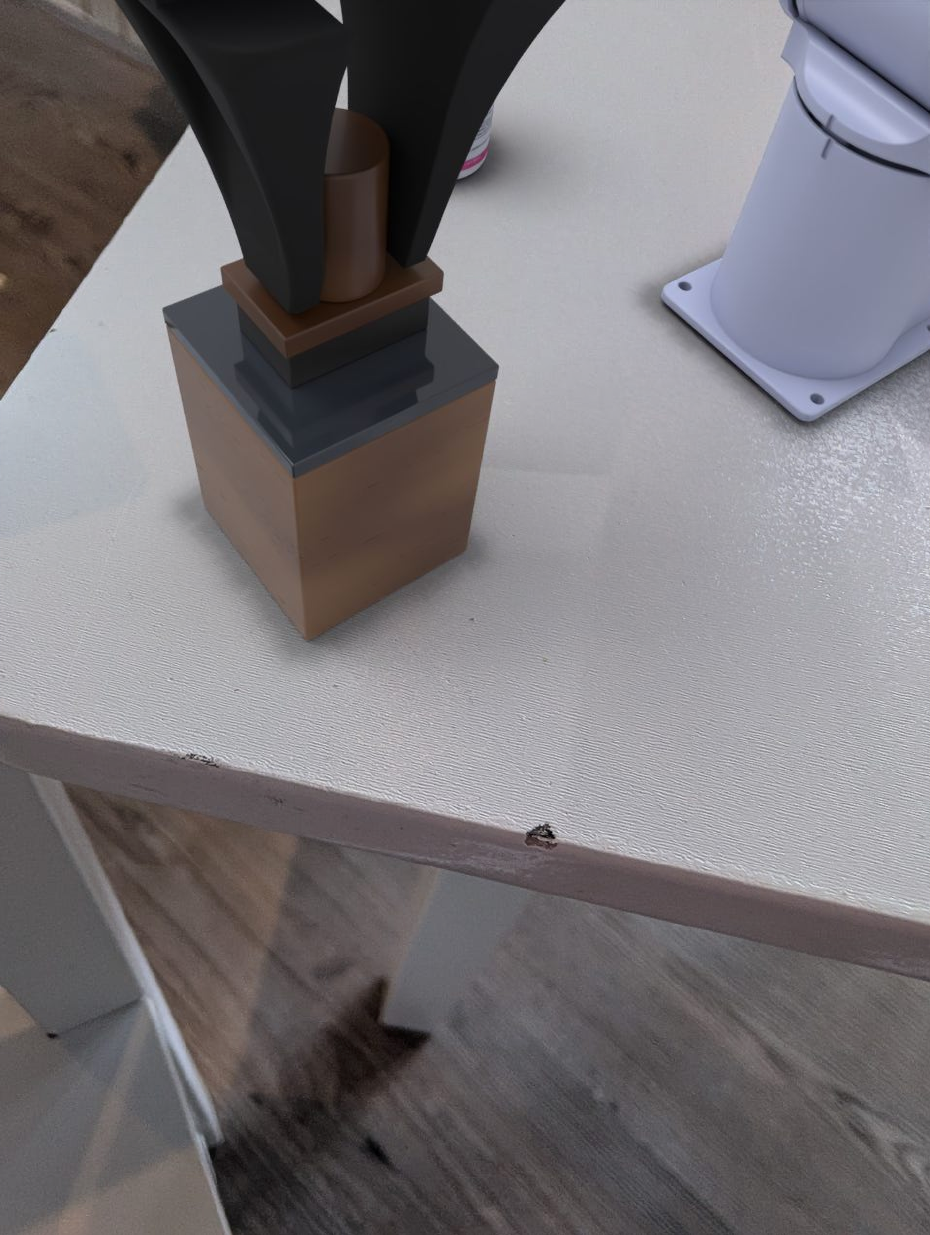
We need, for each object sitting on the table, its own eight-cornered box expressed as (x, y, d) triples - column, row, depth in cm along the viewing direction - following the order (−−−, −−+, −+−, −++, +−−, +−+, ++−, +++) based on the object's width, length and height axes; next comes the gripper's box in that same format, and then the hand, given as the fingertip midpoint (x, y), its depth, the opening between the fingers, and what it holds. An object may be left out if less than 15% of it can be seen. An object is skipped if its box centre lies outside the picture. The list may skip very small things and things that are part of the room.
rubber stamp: (375, 266, 25) (380, 76, 21) (439, 330, 24) (458, 144, 20) (227, 327, 24) (200, 134, 19) (289, 398, 23) (274, 212, 18)
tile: (362, 244, 26) (363, 228, 26) (497, 379, 24) (500, 365, 24) (164, 322, 24) (160, 307, 24) (293, 480, 22) (292, 466, 22)
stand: (360, 430, 33) (362, 244, 26) (467, 551, 31) (497, 379, 24) (203, 507, 30) (164, 322, 24) (306, 643, 28) (293, 480, 22)
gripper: (581, -789, 15) (480, 87, 26) (-554, -918, 9) (-49, 266, 21) (943, -686, 12) (654, 233, 24) (-324, -779, 7) (105, 482, 18)
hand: (338, 261), depth 22 cm, fingers closed on rubber stamp, 2 cm apart
